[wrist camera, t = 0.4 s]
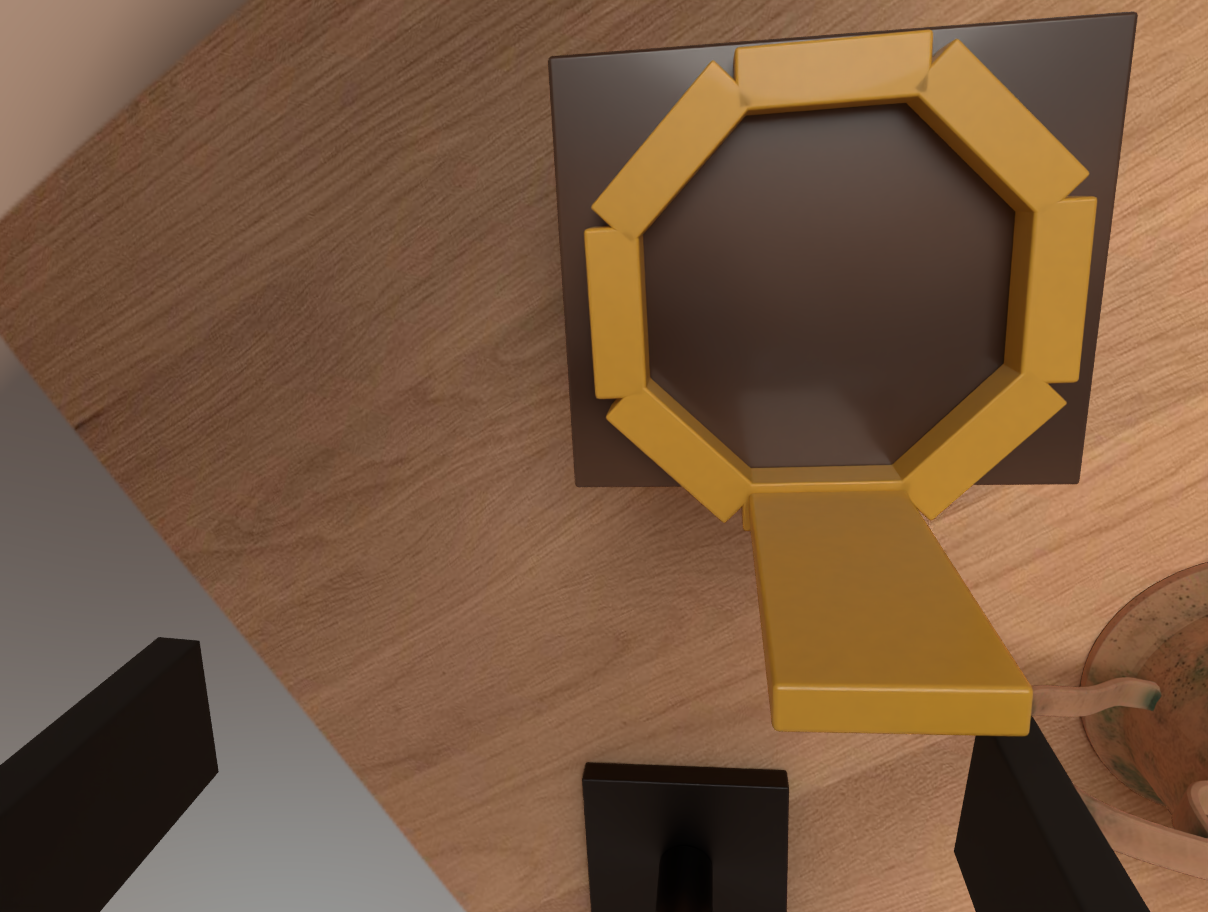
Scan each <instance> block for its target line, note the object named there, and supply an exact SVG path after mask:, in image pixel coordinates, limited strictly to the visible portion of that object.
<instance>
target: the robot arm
mask: <svg viewBox="0 0 1208 912" xmlns="http://www.w3.org/2000/svg"><path fill="white" fill-rule="evenodd" d="M217 773H218V764H217V758H216V751H215V744H214V737H213V731H212V724H211V717H210V711H209V704H208V696H207V689H206V683H205V676H204V669H203V662H202V656H201V649H200V642H199V641H196V640H185V639H174V638H162V637H158V638H157V639H156V640H155V641H153V642H152V643H151V644H150V645H148V646H147V647H146V648H145V649H143V650H142V651H141V652H140V653H138V654H137V655H136V656H135V657H133V658H132V659H131V660H130V661H129V662H127V663H126V664H125V665H124V666H122V667H121V668H120V669H119V670H117V671H116V672H115V673H114V674H112V675H111V676H110V677H109V678H108V679H106V680H105V681H104V682H103V683H101V684H100V685H99V686H98V687H97V688H95V689H94V690H93V691H92V692H90V693H89V694H88V695H87V696H85V697H84V698H83V699H82V700H80V701H79V702H78V703H77V704H76V705H74V706H73V707H72V708H70V709H69V710H68V711H67V712H65V713H64V714H63V715H62V716H61V717H59V718H58V719H57V720H56V721H54V722H53V723H52V724H51V725H49V726H48V727H47V728H46V729H45V730H43V731H42V732H41V733H40V734H38V735H37V736H36V737H35V738H33V739H32V740H31V741H30V742H29V743H27V744H26V745H25V746H23V747H22V748H21V749H20V750H19V751H17V752H16V753H15V754H14V755H12V756H11V757H10V758H9V759H7V760H6V761H5V762H4V763H2V764H1V765H0V912H100V911H101V910H102V909H103V907H104V906H105V905H106V904H107V903H108V902H109V900H110V899H111V898H112V897H113V896H114V894H115V893H116V892H117V891H118V890H119V889H120V888H121V886H122V885H123V884H124V883H125V881H126V880H127V879H128V878H129V877H130V876H131V874H132V873H133V872H134V871H135V870H136V869H137V867H138V866H139V865H140V864H141V863H142V861H143V860H144V859H145V858H146V857H147V855H148V854H149V853H150V852H151V851H152V850H153V849H154V847H155V846H156V845H157V844H158V843H159V842H160V840H161V839H162V838H163V837H164V836H165V834H166V833H167V832H168V831H169V830H170V828H171V827H172V826H173V825H174V824H175V823H176V821H177V820H178V819H179V818H180V817H181V815H182V814H183V813H184V812H185V811H186V810H187V808H188V807H189V806H190V805H191V804H192V802H193V801H194V800H195V799H196V798H197V796H199V794H200V793H201V792H202V791H203V789H204V788H205V787H206V786H207V785H208V784H209V783H210V781H211V780H212V779H213V778H214V777H215V776H216V774H217ZM954 853H955V856H956V858H957V861H958V864H959V867H960V869H961V872H962V875H963V878H964V880H965V883H966V886H967V889H968V891H969V894H970V897H971V900H972V902H973V905H974V908H975V911H976V912H1150V911H1149V909H1148V907H1147V906H1146V904H1145V902H1144V901H1143V899H1142V897H1141V896H1140V894H1139V892H1138V891H1137V889H1136V887H1135V886H1134V884H1133V882H1132V881H1131V879H1130V877H1129V876H1128V874H1127V873H1126V871H1125V869H1124V868H1123V866H1122V864H1121V863H1120V861H1119V859H1118V858H1117V856H1116V854H1115V853H1114V851H1113V849H1112V848H1111V846H1110V844H1109V843H1108V841H1107V839H1106V838H1105V836H1104V834H1103V833H1102V831H1101V829H1100V828H1099V826H1098V824H1097V823H1096V821H1095V819H1094V818H1093V816H1092V815H1091V813H1090V811H1089V810H1088V808H1087V806H1086V805H1085V803H1084V801H1083V800H1082V798H1081V796H1080V795H1079V793H1078V791H1077V790H1076V788H1075V786H1074V785H1073V783H1072V781H1071V780H1070V778H1069V776H1068V775H1067V773H1066V771H1065V770H1064V768H1063V766H1062V765H1061V763H1060V762H1059V760H1058V758H1057V757H1056V755H1055V753H1054V752H1053V750H1052V748H1051V747H1050V745H1049V743H1048V742H1047V740H1046V738H1045V737H1044V735H1043V733H1042V732H1041V730H1040V728H1039V727H1038V725H1037V723H1036V722H1035V720H1034V718H1033V717H1032V715H1031V719H1030V729H1029V733H1028V735H1027V736H976V737H975V742H974V747H973V753H972V758H971V763H970V769H969V774H968V779H967V784H966V790H965V795H964V800H963V806H962V811H961V816H960V821H959V827H958V832H957V837H956V843H955V848H954Z"/></svg>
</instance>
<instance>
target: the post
mask: <svg viewBox="0 0 1208 912" xmlns="http://www.w3.org/2000/svg"><path fill="white" fill-rule="evenodd" d="M582 786H583V800H584V815H585V829H586V843H587V858H588V872H589V887H590V901H591V912H787V870H788V815H789V784H788V777H787V772H786V771H785V770H761V769H736V768H710V767H685V766H659V765H634V764H608V763H586V765H585V769H584V773H583V778H582Z"/></svg>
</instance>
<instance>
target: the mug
mask: <svg viewBox="0 0 1208 912" xmlns="http://www.w3.org/2000/svg"><path fill="white" fill-rule="evenodd" d="M1031 687H1032V689H1033V699H1032V709H1031V715H1032V716H1055V717H1079V716H1081V717H1082V721H1083V725H1084V728H1085V731H1086V734H1087V736H1088V738H1089V740H1090V743H1091V744H1092V746H1093V748H1094V749H1095V751H1096V753H1097V754H1098V756H1099V757H1100V759H1101V760H1102V762H1103V763H1104V764H1105V766H1106V767H1107V768H1108V769H1109V770H1110V771H1111V773H1112V774H1113V775H1114V776H1115V777H1116V778H1118V779H1119V780H1120V781H1121V782H1122V783H1123V784H1125V785H1126V786H1127V787H1129V788H1130V789H1132V790H1133V791H1134V792H1136V793H1138V794H1139V795H1141V796H1143V797H1145V798H1147V799H1149V800H1151V801H1153V802H1155V803H1157V804H1160V805H1162V806H1165V807H1167V808H1168V810H1169V811H1170V813H1171V815H1172V823H1173V827H1174V829H1172V828H1169V827H1166V826H1163V825H1160V824H1157V823H1154V822H1151V821H1148V820H1145V819H1142V818H1139V817H1137V816H1134V815H1131V814H1129V813H1126V812H1124V811H1122V810H1119V809H1117V808H1115V807H1112V806H1110V805H1108V804H1106V803H1104V802H1102V801H1100V800H1098V799H1096V798H1094V797H1093V796H1091V795H1089V794H1088V793H1086V792H1084V791H1083V790H1081V789H1080V788H1078V787H1077V786H1076V785H1074V784H1073V785H1074V786H1075V788H1076V790H1077V791H1078V793H1079V795H1080V796H1081V798H1082V800H1083V801H1084V803H1085V805H1086V806H1087V808H1088V810H1089V811H1090V813H1091V815H1092V816H1093V818H1094V819H1095V821H1096V823H1097V824H1098V826H1099V828H1100V829H1101V831H1102V833H1103V834H1104V836H1105V838H1106V839H1107V841H1108V843H1109V844H1110V846H1111V848H1112V849H1113V850H1114V851H1117V852H1119V853H1122V854H1125V855H1127V856H1130V857H1133V858H1136V859H1139V860H1142V861H1144V862H1147V863H1150V864H1154V865H1157V866H1160V867H1163V868H1167V869H1170V870H1173V871H1177V872H1180V873H1184V874H1187V875H1191V876H1194V877H1198V878H1201V879H1205V880H1208V562H1207V563H1204V564H1200V565H1197V566H1194V567H1191V568H1188V569H1186V570H1183V571H1181V572H1178V573H1176V574H1174V575H1172V576H1169V577H1167V578H1166V579H1164V580H1162V581H1160V582H1158V583H1156V584H1155V585H1153V586H1151V587H1150V588H1148V589H1147V590H1145V591H1144V592H1142V593H1141V594H1140V595H1138V596H1137V597H1135V598H1134V599H1133V600H1132V601H1131V602H1129V603H1128V604H1127V605H1126V606H1125V607H1124V608H1123V609H1122V610H1120V611H1119V612H1118V613H1117V614H1116V616H1115V617H1114V618H1113V619H1112V620H1111V621H1110V622H1109V623H1108V625H1107V626H1106V627H1105V629H1104V630H1103V631H1102V633H1101V634H1100V636H1099V637H1098V639H1097V640H1096V642H1095V644H1094V646H1093V647H1092V649H1091V652H1090V654H1089V656H1088V658H1087V661H1086V664H1085V667H1084V670H1083V674H1082V679H1081V685H1080V687H1067V686H1054V685H1036V686H1031Z"/></svg>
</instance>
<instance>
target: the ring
mask: <svg viewBox="0 0 1208 912" xmlns="http://www.w3.org/2000/svg"><path fill="white" fill-rule="evenodd" d="M932 49H933V32H932V30H918V31H907V32H896V33H885V34H875V35H864V36H853V37H842V38H831V39H820V40H810V41H799V42H788V43H777V44H766V45H755V46H745V47H738V48H736V49H735V52H734V59H733V67H734V79H733V78H732V77H731V76H730V75H729V74H728V73H727V72H726V71H725V70H724V69H723V68H722V67H720V66H719V65H718V64H717V63H716V62H715V61H714V60H712V61H711V62H710V63H709V64H708V65H707V67H706V68H705V69H704V70H703V72H702V73H701V74H700V75H699V76H698V78H697V79H696V80H695V81H694V82H693V84H692V85H691V86H690V87H689V88H688V90H687V91H686V92H685V93H684V94H683V96H682V97H681V98H680V99H679V101H678V102H677V103H676V104H675V105H674V107H673V108H672V109H671V110H670V111H669V113H668V114H667V115H666V116H665V117H664V119H663V120H662V121H661V122H660V123H659V125H658V126H657V127H656V128H655V129H654V131H653V132H652V133H651V134H650V136H649V137H648V138H647V139H646V140H645V142H644V143H643V144H642V145H641V146H640V148H639V149H638V150H637V151H636V152H635V154H634V155H633V156H632V157H631V158H630V160H629V161H628V162H627V163H626V165H625V166H624V167H623V168H622V169H621V171H620V172H619V173H618V174H617V175H616V177H615V178H614V179H613V180H612V181H611V183H610V184H609V185H608V186H607V187H606V189H605V190H604V191H603V192H602V194H601V195H600V196H599V197H598V198H597V200H596V201H595V202H594V203H593V204H592V206H591V208H592V210H593V211H594V212H595V213H597V214H598V215H599V216H600V217H601V218H602V219H603V220H604V221H605V222H606V223H607V224H608V225H610V226H598V227H592V228H588V229H586V230H585V231H584V243H585V257H586V271H587V285H588V300H589V314H590V328H591V342H592V357H593V371H594V385H595V396H596V398H598V399H616V400H615V401H614V402H613V403H612V405H611V407H610V409H609V411H608V413H607V415H606V419H607V420H608V421H609V422H610V423H611V424H612V425H613V426H614V427H616V428H617V429H618V430H619V431H620V432H621V433H622V434H623V435H625V436H626V437H627V438H628V439H629V440H630V441H631V442H633V443H634V444H635V445H636V446H637V447H638V448H639V449H640V450H642V451H643V452H644V453H645V454H646V455H647V456H648V457H649V458H651V459H652V460H653V461H654V462H655V463H656V464H657V465H658V466H660V467H661V468H662V469H663V470H664V471H665V472H666V473H667V474H669V475H670V476H671V477H672V478H673V479H674V480H675V481H676V482H678V483H679V484H680V485H681V486H682V487H683V488H684V489H686V490H687V491H688V492H689V493H690V494H691V495H692V496H693V497H695V498H696V499H697V500H698V501H699V502H700V503H701V504H702V505H704V506H705V507H706V508H707V509H708V510H709V511H710V512H711V513H713V514H714V515H715V516H716V517H717V518H718V519H719V520H720V521H722V522H724V523H725V522H727V521H728V520H729V519H730V518H731V517H732V516H733V515H734V514H735V513H736V512H737V511H738V510H739V509H740V508H741V511H742V523H743V530H744V531H751V539H752V549H753V558H754V567H755V576H756V585H757V594H758V603H759V612H760V621H761V631H762V640H763V649H764V658H765V667H766V676H767V685H768V694H769V704H770V713H771V722H772V726H773V728H774V729H775V730H776V731H779V732H829V733H878V734H927V735H976V736H1027V735H1028V733H1029V729H1030V719H1031V709H1032V699H1033V689H1032V687H1031V685H1030V684H1029V682H1028V680H1027V679H1026V677H1025V676H1024V674H1023V673H1022V671H1021V670H1020V668H1019V666H1018V665H1017V663H1016V662H1015V660H1014V659H1013V657H1012V656H1011V654H1010V653H1009V651H1008V649H1007V648H1006V646H1005V645H1004V643H1003V642H1002V640H1001V639H1000V637H999V635H998V634H997V632H996V631H995V629H994V628H993V626H992V625H991V623H990V621H989V620H988V618H987V617H986V615H985V614H984V612H983V611H982V609H981V608H980V606H979V604H978V603H977V601H976V600H975V598H974V597H973V595H972V594H971V592H970V590H969V589H968V587H967V586H966V584H965V583H964V581H963V580H962V578H961V576H960V575H959V573H958V572H957V570H956V569H955V567H954V566H953V564H952V563H951V561H950V559H949V558H948V556H947V555H946V553H945V552H944V550H943V549H942V547H941V545H940V544H939V542H938V541H937V539H936V538H935V536H934V535H933V533H932V531H931V530H930V528H929V527H928V525H927V524H926V522H925V521H924V519H923V518H922V516H921V514H920V513H919V511H920V512H921V513H922V514H923V515H924V516H925V517H927V518H928V519H929V520H933V519H934V518H935V517H936V516H938V515H939V514H940V513H941V512H942V511H943V510H945V509H946V508H947V507H948V506H949V505H950V504H951V503H953V502H954V501H955V500H956V499H957V498H958V497H960V496H961V495H962V494H963V493H964V492H965V491H967V490H968V489H969V488H970V487H971V486H972V485H973V484H975V483H976V482H977V481H978V480H979V479H980V478H982V477H983V476H984V475H985V474H986V473H987V472H989V471H990V470H991V469H992V468H993V467H994V466H995V465H997V464H998V463H999V462H1000V461H1001V460H1002V459H1004V458H1005V457H1006V456H1007V455H1008V454H1009V453H1011V452H1012V451H1013V450H1014V449H1015V448H1016V447H1017V446H1019V445H1020V444H1021V443H1022V442H1023V441H1024V440H1026V439H1027V438H1028V437H1029V436H1030V435H1031V434H1033V433H1034V432H1035V431H1036V430H1037V429H1038V428H1039V427H1041V426H1042V425H1043V424H1044V423H1045V422H1046V421H1048V420H1049V419H1050V418H1051V417H1052V416H1053V415H1055V414H1056V413H1057V412H1058V411H1059V410H1060V409H1061V408H1063V407H1064V406H1065V405H1066V404H1067V403H1066V401H1065V400H1064V399H1063V398H1062V397H1061V396H1060V395H1059V394H1058V393H1057V392H1056V391H1055V390H1054V389H1053V388H1052V387H1051V386H1050V385H1049V384H1048V383H1074V382H1077V381H1078V379H1079V370H1080V361H1081V351H1082V342H1083V332H1084V322H1085V313H1086V303H1087V294H1088V284H1089V274H1090V265H1091V255H1092V246H1093V236H1094V226H1095V217H1096V207H1097V198H1096V197H1094V196H1068V195H1069V194H1070V193H1071V192H1072V191H1073V190H1074V189H1075V188H1076V187H1077V186H1078V185H1079V184H1080V183H1082V182H1083V181H1084V180H1085V179H1086V178H1087V177H1088V175H1089V171H1088V170H1087V169H1086V168H1085V167H1084V166H1083V165H1082V164H1081V163H1080V162H1079V161H1078V160H1077V159H1076V158H1075V157H1074V156H1073V155H1072V154H1071V153H1070V152H1069V151H1068V150H1067V149H1066V148H1065V147H1064V146H1063V145H1062V144H1061V143H1060V142H1059V141H1058V140H1057V139H1056V138H1055V137H1054V136H1053V135H1052V134H1051V133H1050V132H1049V131H1048V130H1047V129H1046V127H1045V126H1044V125H1043V124H1042V123H1041V122H1040V121H1039V120H1038V119H1037V118H1036V117H1035V116H1034V115H1033V114H1032V113H1031V112H1030V111H1029V110H1028V109H1027V108H1026V107H1025V106H1024V105H1023V104H1022V103H1021V102H1020V101H1019V100H1018V99H1017V98H1016V97H1015V96H1014V95H1013V94H1012V93H1011V92H1010V91H1009V90H1008V89H1007V88H1006V87H1005V86H1004V85H1003V84H1002V83H1001V82H1000V81H999V80H998V79H997V78H996V77H995V76H994V75H993V74H992V73H991V72H990V71H989V70H988V69H987V67H986V66H985V65H984V64H983V63H982V62H981V61H980V60H979V59H978V58H977V57H976V56H975V55H974V54H973V53H972V52H971V51H970V50H969V49H968V48H967V47H966V46H965V45H964V44H963V43H962V42H961V41H960V40H959V39H955V40H953V41H952V42H950V43H948V44H947V45H945V46H944V47H942V48H941V49H939V50H938V51H937V52H936V54H935V55H934V56H933V57H932ZM895 103H907V104H908V105H909V106H910V107H911V108H912V109H913V110H914V111H915V112H916V113H917V114H918V115H919V116H920V117H921V118H922V119H923V120H924V121H925V122H926V123H927V124H928V125H929V126H930V127H931V128H932V129H933V130H934V131H935V132H936V133H937V134H938V135H939V136H940V137H941V138H942V139H943V140H944V141H945V142H946V143H947V144H948V145H949V146H950V147H951V148H952V149H953V150H954V151H955V152H956V153H957V154H958V155H959V156H960V157H961V158H962V159H963V160H964V161H965V162H966V163H967V164H968V165H969V166H970V167H971V168H972V169H973V170H974V171H975V172H976V173H977V174H978V175H979V176H980V177H981V178H982V179H983V180H984V181H985V182H986V183H987V184H988V185H989V186H990V187H991V188H992V189H993V190H994V191H995V192H996V193H997V194H998V195H999V196H1000V197H1001V198H1002V199H1003V200H1004V201H1005V202H1006V203H1007V204H1008V205H1009V206H1010V207H1011V208H1012V209H1013V210H1014V211H1015V224H1014V237H1013V250H1012V263H1011V276H1010V289H1009V302H1008V315H1007V328H1006V341H1005V355H1004V364H1003V365H1002V366H1001V367H999V368H998V369H997V370H996V371H995V372H994V373H993V374H992V375H991V376H989V377H988V378H987V379H986V380H985V381H984V382H983V383H982V384H981V385H980V386H978V387H977V388H976V389H975V390H974V391H973V392H972V393H971V394H970V395H969V396H967V397H966V398H965V399H964V400H963V401H962V402H961V403H960V404H959V405H958V406H956V407H955V408H954V409H953V410H952V411H951V412H950V413H949V414H948V415H946V416H945V417H944V418H943V419H942V420H941V421H940V422H939V423H938V424H937V425H935V426H934V427H933V428H932V429H931V430H930V431H929V432H928V433H927V434H926V435H924V436H923V437H922V438H921V439H920V440H919V441H918V442H917V443H916V444H915V445H913V446H912V447H911V448H910V449H909V450H908V451H907V452H906V453H905V454H903V455H902V456H901V457H900V458H899V459H898V460H897V461H896V462H895V463H894V464H892V465H868V466H825V467H781V468H750V467H749V466H748V465H747V464H745V463H744V462H743V461H742V460H741V459H740V458H739V457H738V456H737V455H735V454H734V453H733V452H732V451H731V450H730V449H729V448H728V447H727V446H725V445H724V444H723V443H722V442H721V441H720V440H719V439H718V438H717V437H715V436H714V435H713V434H712V433H711V432H710V431H709V430H708V429H707V428H705V427H704V426H703V425H702V424H701V423H700V422H699V421H698V420H697V419H695V418H694V417H693V416H692V415H691V414H690V413H689V412H688V411H687V410H685V409H684V408H683V407H682V406H681V405H680V404H679V403H678V402H677V401H675V400H674V399H673V398H672V397H671V396H670V395H669V394H668V393H667V392H665V391H664V390H663V389H662V388H661V387H660V386H659V385H658V384H657V383H655V382H654V381H653V380H652V379H651V378H650V366H649V346H648V326H647V306H646V286H645V266H644V246H643V234H644V233H645V232H646V231H647V229H648V228H649V227H650V226H651V225H652V224H653V223H654V221H655V220H656V219H657V218H658V217H659V216H660V214H661V213H662V212H663V211H664V210H665V209H666V207H667V206H668V205H669V204H670V203H671V202H672V201H673V199H674V198H675V197H676V196H677V195H678V194H679V192H680V191H681V190H682V189H683V188H684V187H685V185H686V184H687V183H688V182H689V181H690V180H691V179H692V177H693V176H694V175H695V174H696V173H697V172H698V170H699V169H700V168H701V167H702V166H703V165H704V163H705V162H706V161H707V160H708V159H709V158H710V157H711V155H712V154H713V153H714V152H715V151H716V150H717V148H718V147H719V146H720V145H721V144H722V143H723V141H724V140H725V139H726V138H727V137H728V136H729V135H730V133H731V132H732V131H733V130H734V129H735V128H736V126H737V125H738V124H739V123H740V122H741V121H742V119H743V118H744V117H745V116H747V115H760V114H772V113H784V112H797V111H809V110H821V109H834V108H846V107H858V106H871V105H883V104H895ZM917 509H918V510H919V511H918V510H917Z"/></svg>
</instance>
